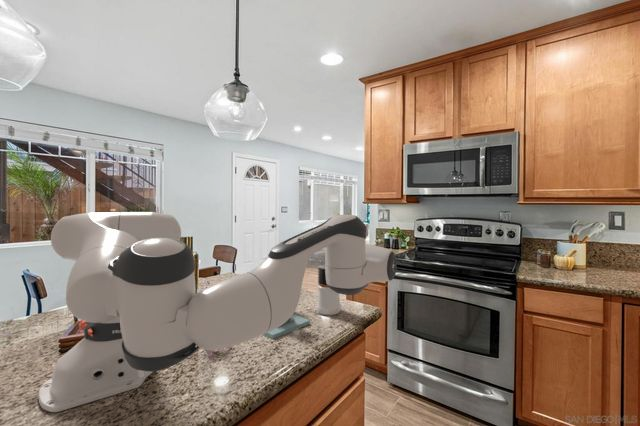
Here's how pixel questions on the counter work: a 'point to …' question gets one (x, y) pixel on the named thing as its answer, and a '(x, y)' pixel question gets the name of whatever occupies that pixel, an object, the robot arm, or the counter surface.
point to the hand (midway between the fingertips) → (306, 251)
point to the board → (288, 327)
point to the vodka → (326, 296)
